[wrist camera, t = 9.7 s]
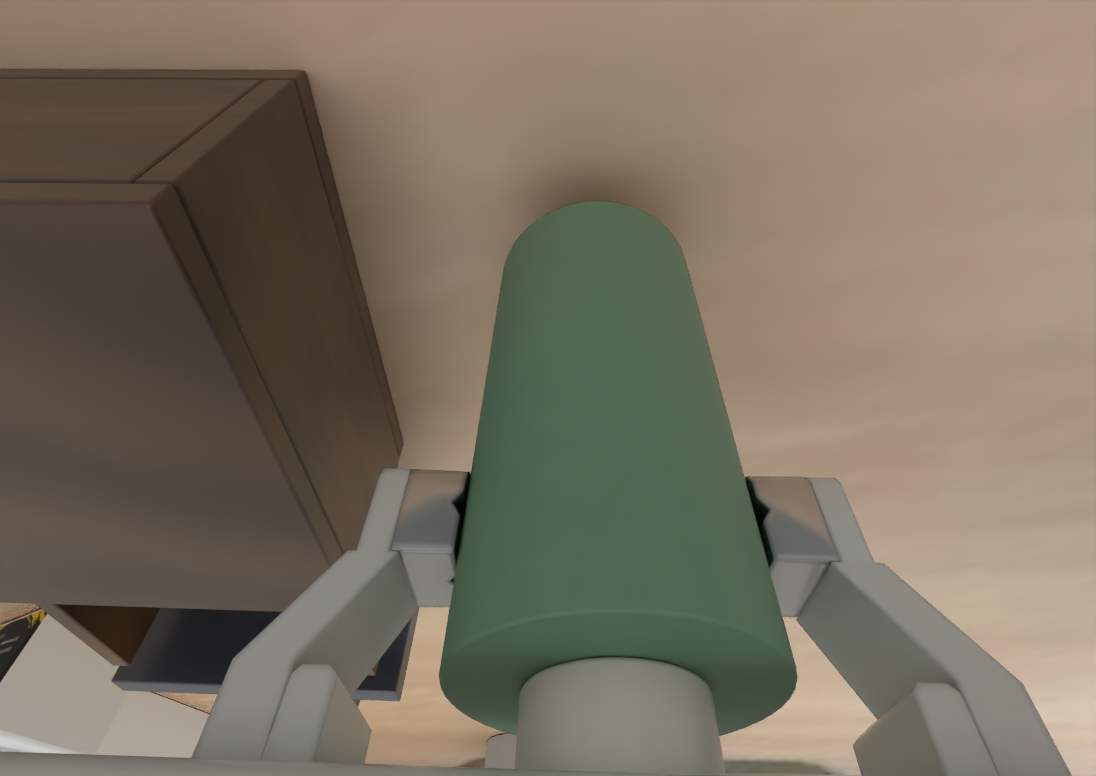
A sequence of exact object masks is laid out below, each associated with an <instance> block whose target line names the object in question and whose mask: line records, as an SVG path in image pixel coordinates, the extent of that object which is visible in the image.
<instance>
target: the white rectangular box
mask: <svg viewBox="0 0 1096 776" xmlns="http://www.w3.org/2000/svg"><path fill="white" fill-rule="evenodd" d="M208 716H209V714H207V713H205V712H202V711H199V710H197V709H194V708H191V707H189V706H186V705H183V704H181V703H178V702H175V701H173V700H170V699H168V698H165V697H162V696H160V695H157V694H154V693H152V692H146V691H128V693H127V695H126V697H125V698H124V700H123V702H122V704H121V706H120V708H119V710H118V712H117V714H116V715H115V717H114V719H113V721H112V723H111V725H110V727H109V729H108V731H107V733H106V734H105V736H104V738H103V740H102V742H101V744H100V746H99V748H98V750H97V752H96V753H95V755H120V756H149V757H179V758H191V757H192V755H193V752H194V750H195V747H196V745H197V743H198V740H199V738H200V735H201V733H202V731H203V728H204V726H205V724H206V721H207V719H208Z"/></svg>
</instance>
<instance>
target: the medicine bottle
mask: <svg viewBox="0 0 1096 776" xmlns="http://www.w3.org/2000/svg"><path fill="white" fill-rule="evenodd" d="M118 667H119V666H113V665H112V664H111V663H109V662H108V661H107V660H105V659H104V658H103V657H102V656H100V655H99V654H98V653H97V652H95V651H94V650H93V649H92V648H90V647H89V646H88V645H86V644H85V643H84V642H83V641H81V640H80V639H79V638H78V637H76V636H75V635H74V634H73V633H71V632H70V631H69V630H67V629H66V628H65V627H64V626H62V625H61V624H60V623H59V622H57V621H56V620H55V619H54V618H52V617H51V616H50V615H48V614H47V613H46V612H45V611H43V610H42V609H40V610H38V611H35V612H33V613H30V614H28V615H25V616H23V617H20V618H18V619H15V620H13V621H10V622H8V623H5V624H3V625H0V751H2V752H32V753H61V754H90V755H95V753H96V752H97V750H98V748H99V746H100V744H101V742H102V740H103V738H104V736H105V734H106V733H107V731H108V729H109V727H110V725H111V723H112V721H113V719H114V717H115V715H116V714H117V712H118V710H119V708H120V706H121V704H122V702H123V700H124V698H125V697H126V695H127V693H128V691H123V690H122V689H121V688H119V687H118V686H117V685H115V684H114V683H113V682H111V680H112V678H113V676H114V675H115V673H116V671H117V669H118Z"/></svg>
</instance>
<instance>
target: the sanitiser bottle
mask: <svg viewBox="0 0 1096 776" xmlns="http://www.w3.org/2000/svg"><path fill="white" fill-rule="evenodd" d="M439 679H440V685H441V689H442V691H443V693H444V695H445V696H446V698H447V699H448V700H449V701H450V702H451V704H452V705H454V706H455V707H456V708H457V709H458V710H460V711H461V712H462V713H464V714H466V715H467V716H469V717H470V718H472V719H474V720H476V721H478V722H480V723H482V724H484V725H487V726H489V727H492V728H495V729H497V730H500V731H503V732H506V733H509V734H513V735H516V736H517V740H516V756H515V769H531V770H561V771H590V772H620V773H649V774H679V775H708V776H726V773H725V767H724V761H723V755H722V749H721V743H720V737H719V736H721V735H724V734H728V733H731V732H734V731H737V730H740V729H743V728H745V727H748V726H750V725H752V724H754V723H757V722H759V721H761V720H763V719H765V718H766V717H768V716H770V715H772V714H773V713H774V712H776V711H777V710H778V709H780V708H781V707H782V706H783V705H784V704H785V703H786V702H787V701H788V700H789V699H790V697H791V696H792V694H793V692H794V690H795V687H796V682H797V671H796V665H795V662H794V658H793V654H792V651H791V647H790V643H789V640H788V636H787V632H786V629H785V625H784V621H783V618H782V614H781V610H780V606H779V603H778V599H777V595H776V592H775V588H774V584H773V581H772V577H771V573H770V570H769V566H768V562H767V559H766V555H765V551H764V547H763V544H762V540H761V536H760V533H759V529H758V525H757V522H756V518H755V514H754V511H753V507H752V503H751V500H750V496H749V492H748V489H747V485H746V481H745V477H744V474H743V470H742V466H741V463H740V459H739V455H738V452H737V448H736V444H735V441H734V437H733V433H732V430H731V426H730V422H729V418H728V415H727V411H726V407H725V404H724V400H723V396H722V393H721V389H720V385H719V382H718V378H717V374H716V371H715V367H714V363H713V359H712V356H711V352H710V348H709V345H708V341H707V337H706V334H705V330H704V326H703V323H702V319H701V315H700V312H699V308H698V304H697V300H696V297H695V293H694V289H693V286H692V282H691V278H690V275H689V271H688V267H687V264H686V260H685V257H684V254H683V252H682V249H681V247H680V245H679V244H678V242H677V240H676V238H675V237H674V236H673V235H672V233H671V232H670V231H669V230H668V229H667V228H666V227H665V226H664V225H663V224H662V223H661V222H660V221H658V220H657V219H655V218H654V217H652V216H651V215H649V214H647V213H645V212H643V211H641V210H639V209H637V208H634V207H631V206H628V205H625V204H620V203H615V202H605V201H591V202H582V203H576V204H571V205H568V206H565V207H562V208H559V209H557V210H554V211H552V212H550V213H548V214H546V215H545V216H543V217H541V218H540V219H538V220H537V221H535V222H534V223H533V224H532V225H530V226H529V227H528V228H527V229H526V230H525V231H524V232H523V233H522V234H521V235H520V236H519V238H518V239H517V240H516V242H515V243H514V245H513V246H512V248H511V250H510V252H509V254H508V256H507V259H506V262H505V265H504V270H503V276H502V282H501V288H500V295H499V301H498V307H497V314H496V320H495V326H494V332H493V339H492V345H491V351H490V358H489V364H488V370H487V376H486V383H485V389H484V395H483V402H482V408H481V414H480V421H479V427H478V433H477V439H476V446H475V452H474V458H473V465H472V471H471V477H470V484H469V490H468V496H467V503H466V509H465V515H464V521H463V528H462V534H461V540H460V547H459V553H458V559H457V566H456V572H455V578H454V584H453V590H452V597H451V603H450V609H449V616H448V622H447V628H446V635H445V641H444V647H443V653H442V660H441V666H440V672H439Z"/></svg>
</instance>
